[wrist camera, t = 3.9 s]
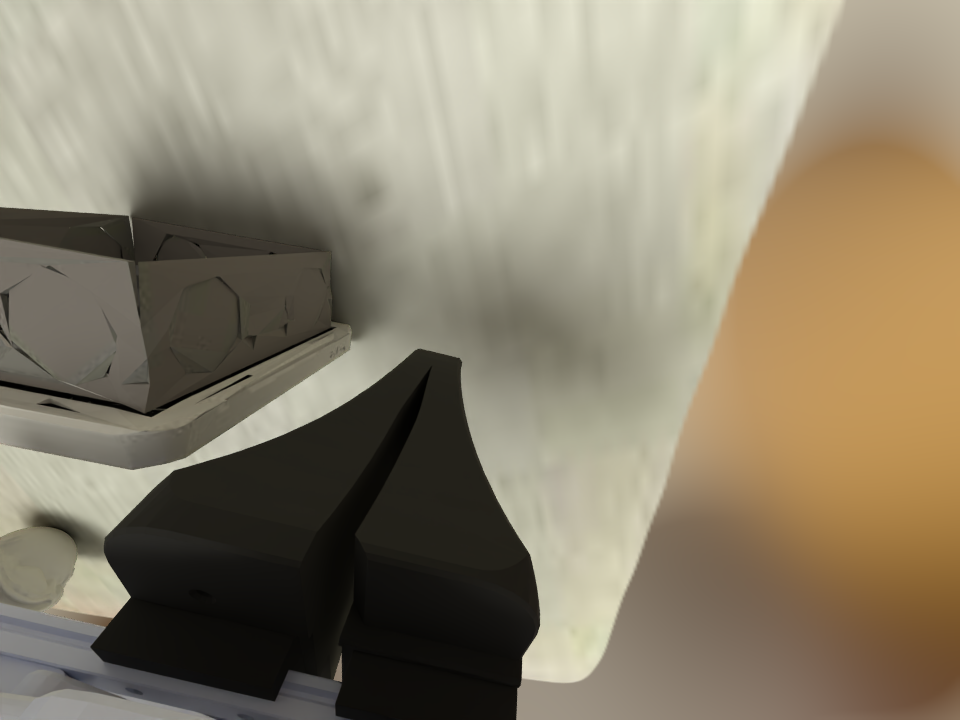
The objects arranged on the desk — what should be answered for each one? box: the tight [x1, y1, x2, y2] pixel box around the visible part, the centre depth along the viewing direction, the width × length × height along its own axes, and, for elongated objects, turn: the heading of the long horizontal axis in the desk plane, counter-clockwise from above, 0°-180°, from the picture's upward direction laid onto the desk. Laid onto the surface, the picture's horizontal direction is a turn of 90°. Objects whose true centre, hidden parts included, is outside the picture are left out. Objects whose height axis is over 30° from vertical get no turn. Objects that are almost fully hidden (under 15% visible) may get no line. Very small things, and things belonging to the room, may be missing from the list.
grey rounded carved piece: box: [0, 527, 77, 612], centre depth 26 cm, size 6×7×7 cm
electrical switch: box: [0, 207, 352, 470], centre depth 11 cm, size 9×5×9 cm, turn 82°
